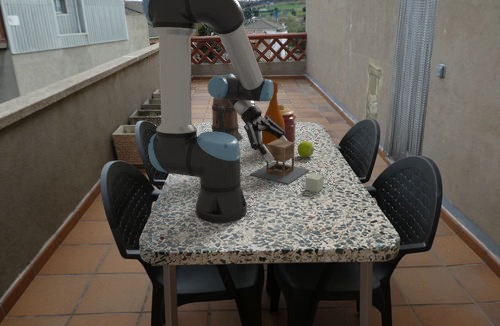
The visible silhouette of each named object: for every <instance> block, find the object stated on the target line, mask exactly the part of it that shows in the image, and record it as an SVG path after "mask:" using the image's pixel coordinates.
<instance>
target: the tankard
mask: <svg viewBox="0 0 500 326" xmlns="http://www.w3.org/2000/svg"><path fill="white" fill-rule="evenodd" d="M211 110H212V111H211V112H212V113H211V114H212V117H211V118H212V119H211V121H212V124H211V130H212V131H211V132H223V133H227V134H230V135H232V136H234V137H235V138H236V139H237V140H238V142H240V141H242V140H243V139H244V137H243V136H242V134H241V133H240V132H239V128H240V126H239V120H238V113H237V111H236V110H235V109H234V107H233V106H232V105H231V103H230V102H229V101H228V100H226V99H216V98H214V97H213V100H212V105H211Z"/></svg>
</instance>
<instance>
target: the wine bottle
mask: <svg viewBox="0 0 500 326" xmlns="http://www.w3.org/2000/svg"><path fill="white" fill-rule="evenodd" d="M271 81H272V82H273V85H274V92H273V97H272V99H271V100H270V101H268V102H269V103H268V107H267V110H266V112H265V113H264V117H263V118H265V117H266V116H268V117H269V118H270V119H271V120H272V121H273V122H275V123H276V124H277V125H278V126H280V127H281V128H282V129H283V130H285V124H284V120H283V117H282V114H281V112H280V104H279V102H278V91H279V89H278V88H279V87H278V86H279V85H278V84H279V83H278V81H276V80H271ZM266 126H267V125H266ZM281 132H282V131H281ZM284 136H285V135H284ZM277 139H279V138H278V137H276V136H274V135H272V134H271V133H269V132H267V131H261V141H262V145H263V144H264V145H265V146H267V144H268V143H270V142H273V141H275V140H277Z"/></svg>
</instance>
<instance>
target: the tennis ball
mask: <svg viewBox="0 0 500 326" xmlns="http://www.w3.org/2000/svg"><path fill="white" fill-rule="evenodd" d="M314 150H315V147H314V145H313V143H312V142H311V141H308V140H305V141H304V140H303V141H302V142H300V143H299V144H298V146H297V153H298V154H299V156H300V157H302V158H310V157H312V155H313V154H314Z"/></svg>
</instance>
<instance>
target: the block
mask: <svg viewBox="0 0 500 326" xmlns="http://www.w3.org/2000/svg"><path fill="white" fill-rule="evenodd" d="M324 178H325V176H324V175H321V174H318V173H313V172H311V173H310V174H308V175H307V176H305V184H304V185H305V186H304V190H305V189H306V190H305V191H310V192H313V191H314V193H319V192H320V191H321V190H323V188H324ZM318 191H319V192H318Z"/></svg>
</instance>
